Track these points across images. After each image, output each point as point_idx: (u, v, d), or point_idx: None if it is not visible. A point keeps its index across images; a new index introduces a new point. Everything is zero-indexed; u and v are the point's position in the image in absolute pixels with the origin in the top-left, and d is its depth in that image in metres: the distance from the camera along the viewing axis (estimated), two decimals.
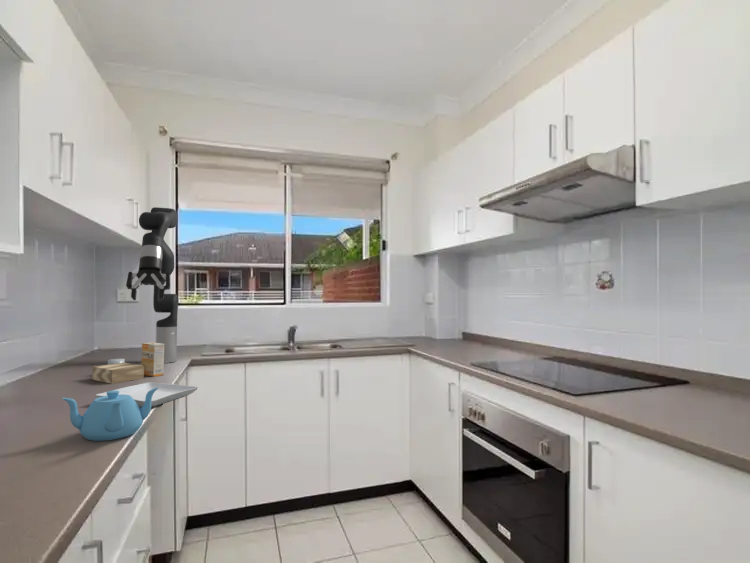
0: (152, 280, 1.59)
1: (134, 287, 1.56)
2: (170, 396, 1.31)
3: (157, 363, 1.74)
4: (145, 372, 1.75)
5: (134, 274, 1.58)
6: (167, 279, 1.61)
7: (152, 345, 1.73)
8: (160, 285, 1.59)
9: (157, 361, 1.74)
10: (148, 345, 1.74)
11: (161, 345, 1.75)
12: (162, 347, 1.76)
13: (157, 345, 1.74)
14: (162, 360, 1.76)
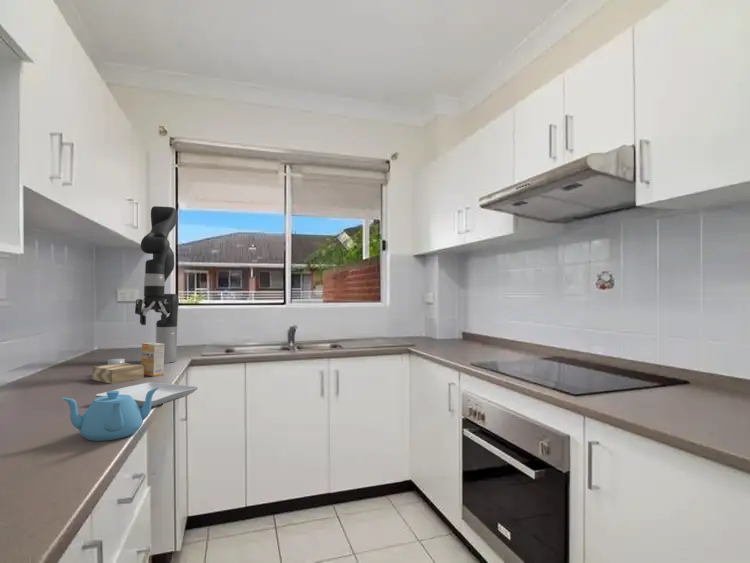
0: (158, 306, 1.78)
1: (144, 314, 1.73)
2: (170, 396, 1.31)
3: (157, 363, 1.74)
4: (145, 372, 1.75)
5: (142, 301, 1.73)
6: (169, 305, 1.82)
7: (152, 345, 1.73)
8: (164, 311, 1.80)
9: (157, 361, 1.74)
10: (148, 345, 1.74)
11: (161, 345, 1.75)
12: (162, 347, 1.76)
13: (157, 345, 1.74)
14: (162, 360, 1.76)
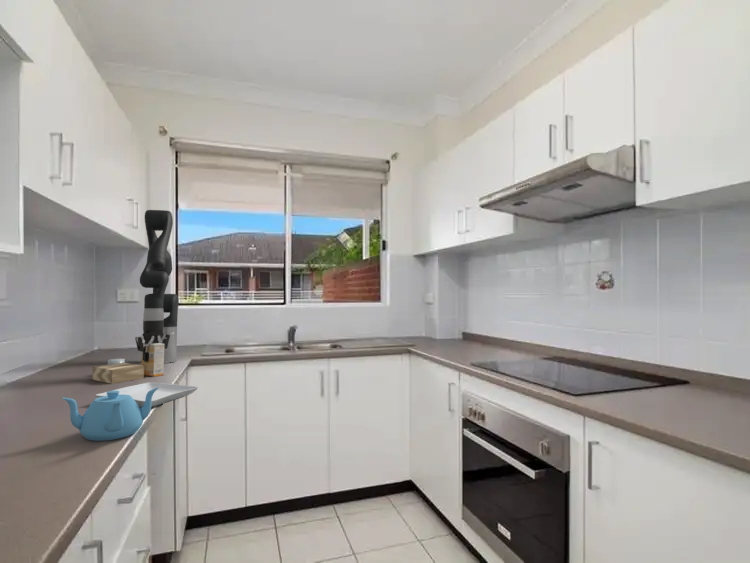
0: (156, 341, 1.77)
1: (147, 351, 1.73)
2: (170, 396, 1.31)
3: (157, 363, 1.74)
4: (145, 372, 1.75)
5: (142, 337, 1.72)
6: (167, 341, 1.81)
7: (152, 345, 1.73)
8: None
9: (157, 361, 1.74)
10: None
11: (161, 345, 1.75)
12: (162, 347, 1.76)
13: (157, 344, 1.74)
14: (162, 360, 1.76)
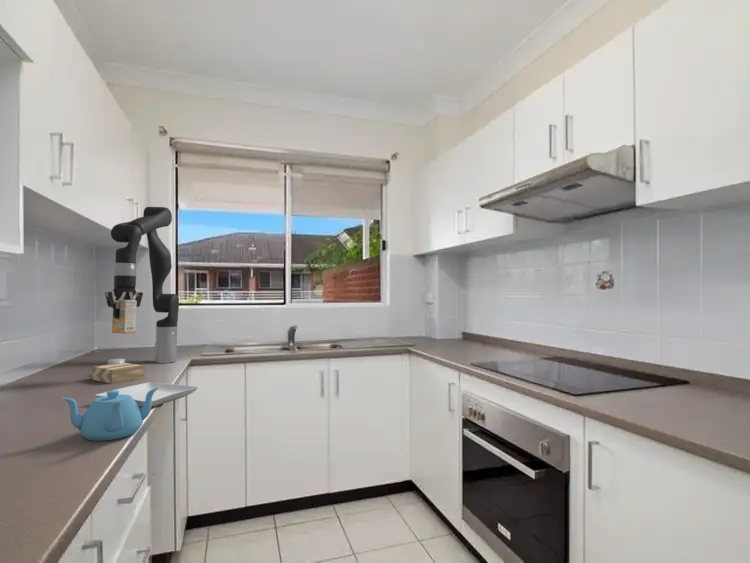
0: (128, 297, 1.69)
1: (118, 307, 1.66)
2: (170, 396, 1.31)
3: (129, 319, 1.66)
4: (115, 330, 1.67)
5: (112, 292, 1.65)
6: (140, 299, 1.73)
7: (123, 301, 1.66)
8: None
9: (129, 318, 1.66)
10: None
11: (133, 301, 1.68)
12: (134, 304, 1.68)
13: (129, 301, 1.67)
14: (134, 317, 1.68)
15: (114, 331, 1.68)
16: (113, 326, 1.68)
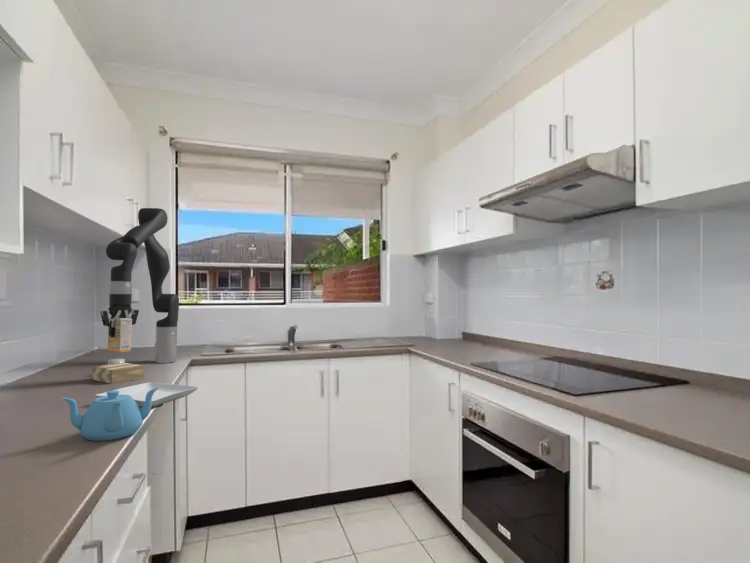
0: (123, 315, 1.68)
1: (113, 326, 1.65)
2: (170, 396, 1.31)
3: (124, 338, 1.66)
4: (111, 348, 1.67)
5: (107, 311, 1.64)
6: (135, 316, 1.72)
7: (118, 319, 1.65)
8: None
9: (124, 337, 1.66)
10: None
11: (128, 320, 1.67)
12: (130, 322, 1.67)
13: (124, 319, 1.66)
14: (129, 336, 1.68)
15: (110, 349, 1.67)
16: (109, 344, 1.67)
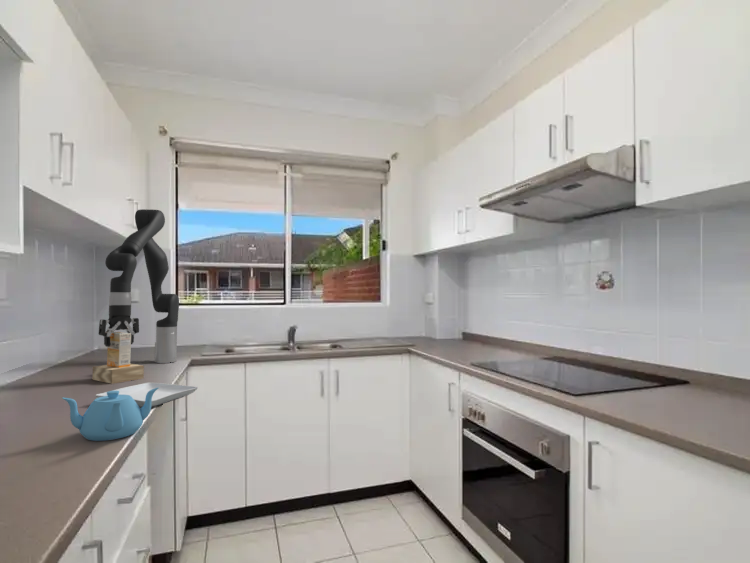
0: (124, 327, 1.69)
1: (109, 335, 1.64)
2: (170, 396, 1.31)
3: (123, 353, 1.65)
4: (110, 363, 1.66)
5: (107, 321, 1.64)
6: (137, 325, 1.73)
7: (117, 334, 1.65)
8: (131, 331, 1.71)
9: (123, 351, 1.65)
10: (114, 334, 1.66)
11: (127, 335, 1.67)
12: (129, 337, 1.67)
13: (123, 334, 1.65)
14: (129, 350, 1.67)
15: (109, 364, 1.67)
16: (108, 359, 1.67)
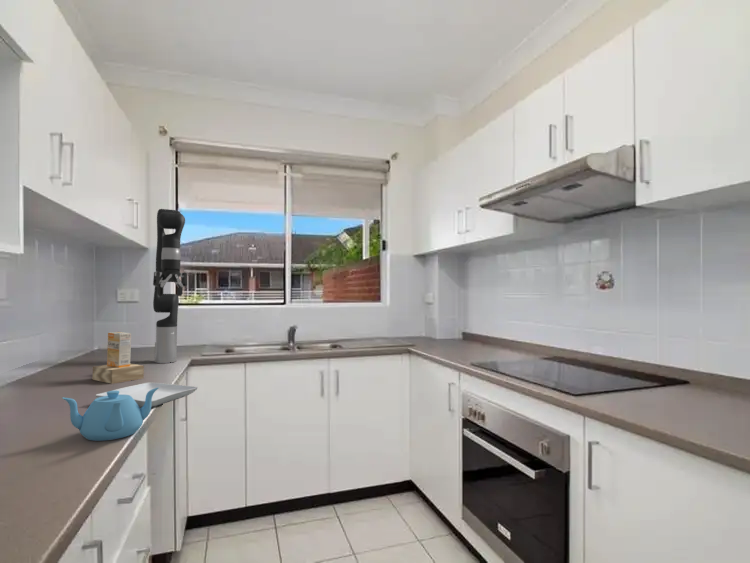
0: (174, 279, 1.87)
1: (162, 286, 1.82)
2: (170, 396, 1.31)
3: (123, 353, 1.65)
4: (110, 363, 1.66)
5: (160, 273, 1.82)
6: (185, 278, 1.91)
7: (117, 334, 1.65)
8: (180, 284, 1.89)
9: (123, 351, 1.65)
10: (114, 334, 1.66)
11: (127, 335, 1.67)
12: (129, 337, 1.67)
13: (123, 334, 1.65)
14: (129, 350, 1.67)
15: (109, 364, 1.67)
16: (108, 359, 1.67)
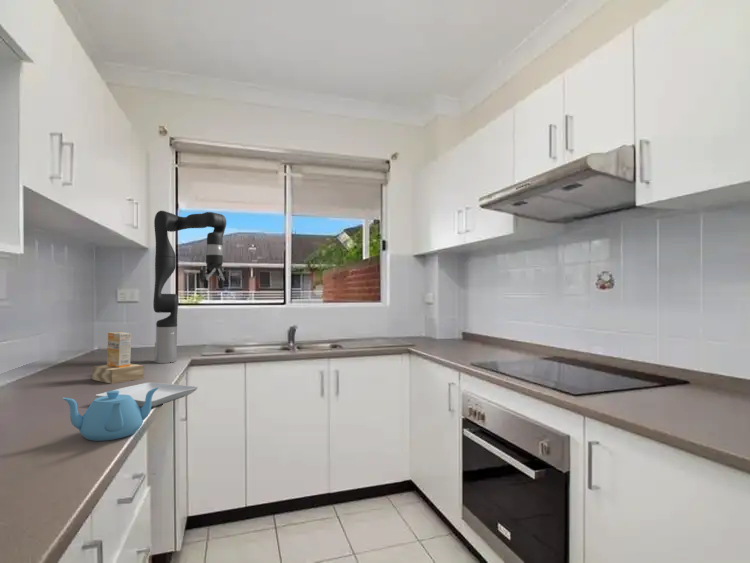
0: (217, 273, 2.06)
1: (207, 279, 2.01)
2: (170, 396, 1.31)
3: (123, 353, 1.65)
4: (110, 363, 1.66)
5: (206, 267, 2.01)
6: (226, 273, 2.10)
7: (117, 334, 1.65)
8: (222, 277, 2.08)
9: (123, 351, 1.65)
10: (114, 334, 1.66)
11: (127, 335, 1.67)
12: (129, 337, 1.67)
13: (123, 334, 1.65)
14: (129, 350, 1.67)
15: (109, 364, 1.67)
16: (108, 359, 1.67)
